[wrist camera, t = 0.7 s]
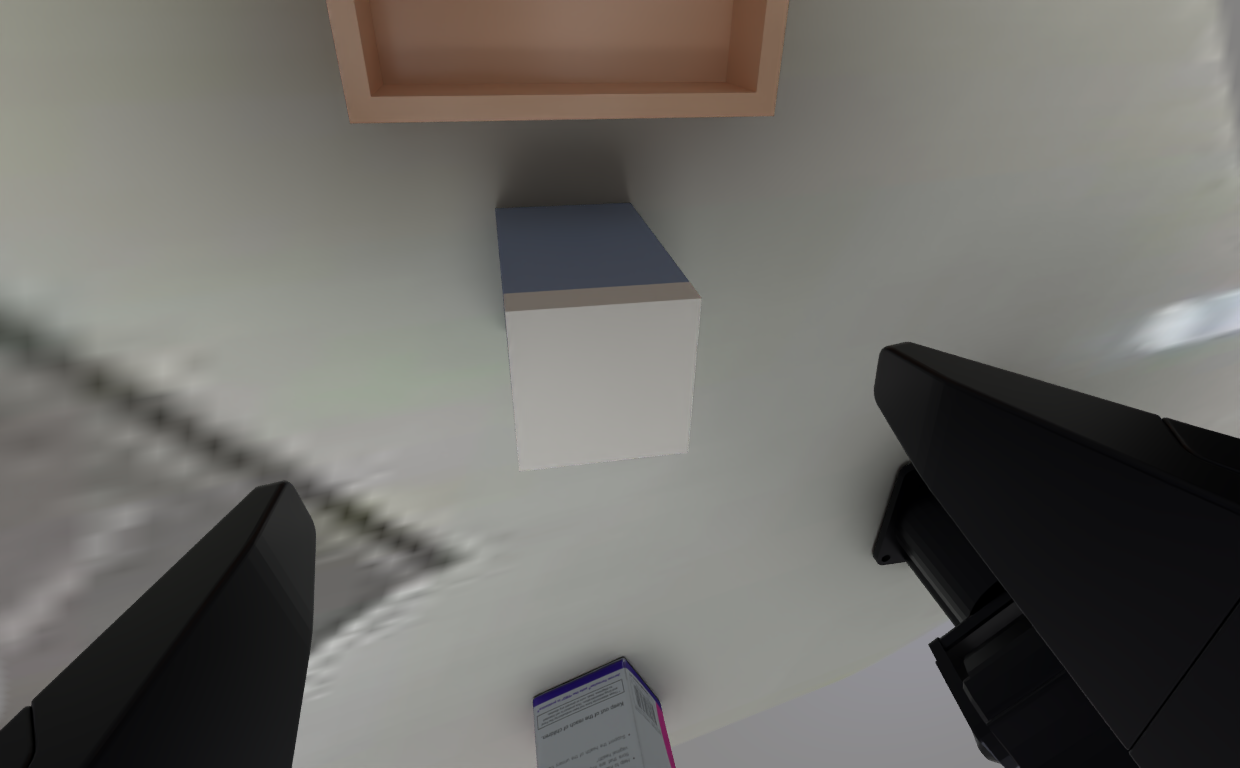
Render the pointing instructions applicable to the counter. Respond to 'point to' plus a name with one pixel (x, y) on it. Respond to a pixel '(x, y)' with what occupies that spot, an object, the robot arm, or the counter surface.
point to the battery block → (595, 335)
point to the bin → (557, 58)
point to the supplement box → (601, 723)
